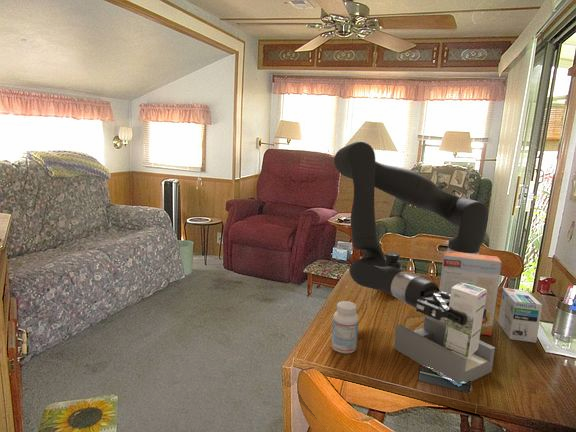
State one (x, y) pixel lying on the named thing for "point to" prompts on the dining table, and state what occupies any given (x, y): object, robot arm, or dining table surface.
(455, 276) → the cracker box
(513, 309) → the light bulb box
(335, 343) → the pill bottle
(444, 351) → the trap lane
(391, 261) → the supplement bottle
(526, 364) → the dining table surface
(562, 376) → the dining table surface
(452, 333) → the syrup box
